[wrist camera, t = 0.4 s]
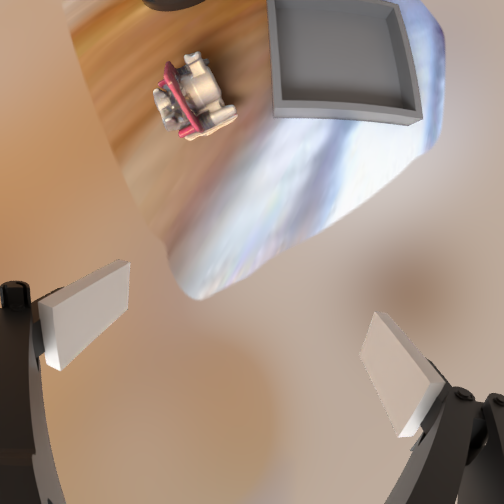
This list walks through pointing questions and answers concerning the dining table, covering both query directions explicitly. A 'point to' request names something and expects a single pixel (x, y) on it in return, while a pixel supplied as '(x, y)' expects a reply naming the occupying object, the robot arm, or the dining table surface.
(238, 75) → the dining table surface
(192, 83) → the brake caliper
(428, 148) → the dining table surface
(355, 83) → the parts bin
